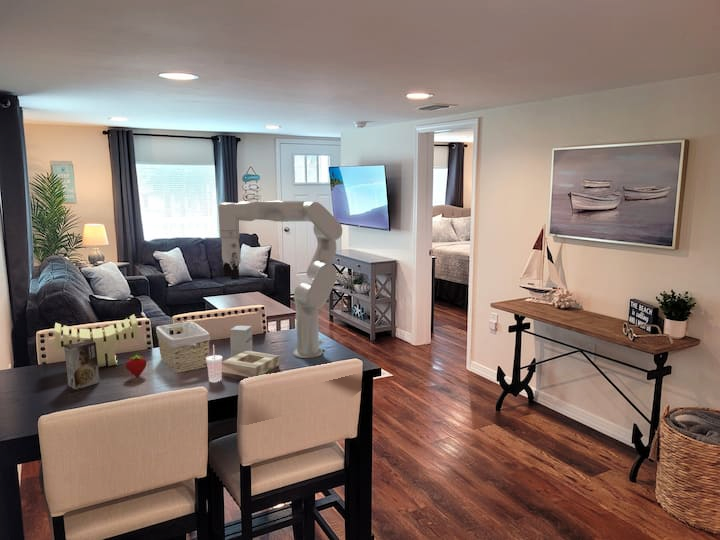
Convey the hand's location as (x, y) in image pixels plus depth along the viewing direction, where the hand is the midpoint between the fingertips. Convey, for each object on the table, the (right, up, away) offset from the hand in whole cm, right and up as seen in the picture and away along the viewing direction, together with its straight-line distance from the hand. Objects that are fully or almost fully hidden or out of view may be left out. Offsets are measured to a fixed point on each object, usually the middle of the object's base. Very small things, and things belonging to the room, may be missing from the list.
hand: (231, 277), depth 211 cm
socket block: (+8, -38, 0) cm, 39 cm away
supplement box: (0, -35, +20) cm, 40 cm away
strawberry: (-36, -39, -5) cm, 53 cm away
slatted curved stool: (-57, -36, +11) cm, 69 cm away
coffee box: (-52, -40, -12) cm, 67 cm away
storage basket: (-22, -36, +11) cm, 44 cm away
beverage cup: (-4, -39, -8) cm, 40 cm away
